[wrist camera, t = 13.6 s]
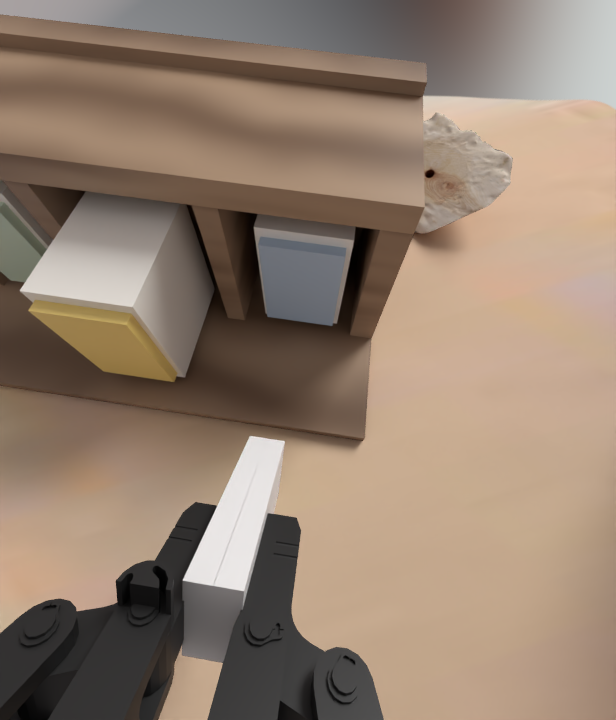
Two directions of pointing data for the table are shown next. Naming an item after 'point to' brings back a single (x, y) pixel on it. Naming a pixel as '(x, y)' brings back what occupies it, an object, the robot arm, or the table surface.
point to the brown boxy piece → (216, 201)
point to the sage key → (19, 238)
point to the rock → (458, 173)
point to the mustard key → (125, 285)
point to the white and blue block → (303, 267)
